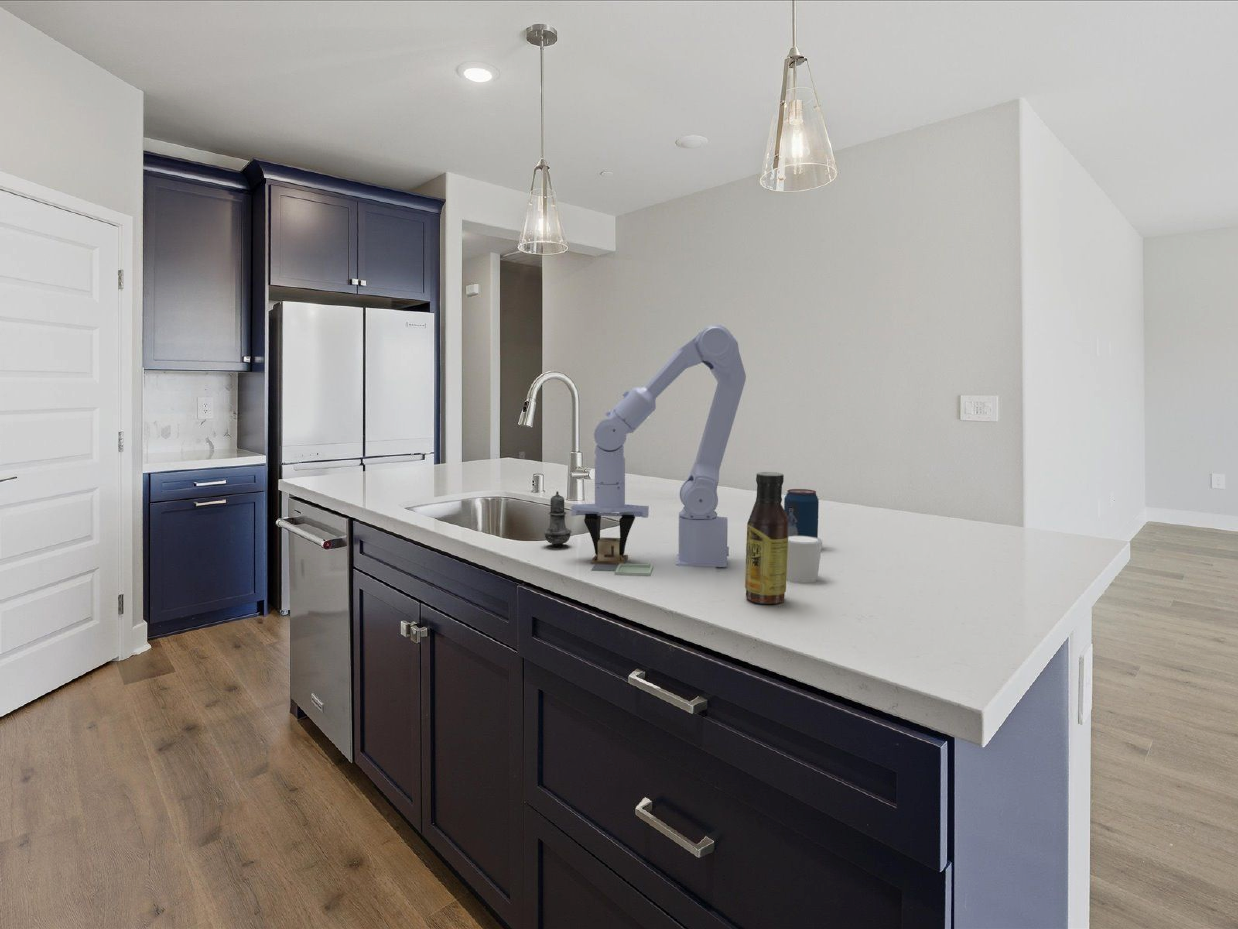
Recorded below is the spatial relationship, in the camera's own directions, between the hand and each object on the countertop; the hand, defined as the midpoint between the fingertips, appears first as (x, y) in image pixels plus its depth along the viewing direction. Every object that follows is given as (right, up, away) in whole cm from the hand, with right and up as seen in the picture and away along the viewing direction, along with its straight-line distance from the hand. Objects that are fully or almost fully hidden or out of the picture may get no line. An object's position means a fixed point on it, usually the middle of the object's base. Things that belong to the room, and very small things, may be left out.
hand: (609, 553), depth 129 cm
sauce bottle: (+24, -4, -24) cm, 35 cm away
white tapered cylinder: (+33, -3, -11) cm, 35 cm away
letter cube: (0, -1, 0) cm, 1 cm away
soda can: (+40, -1, +13) cm, 42 cm away
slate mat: (-1, -2, -5) cm, 6 cm away
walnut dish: (0, -2, 0) cm, 2 cm away
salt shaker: (-11, -1, +12) cm, 16 cm away
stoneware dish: (+5, -2, -8) cm, 9 cm away
